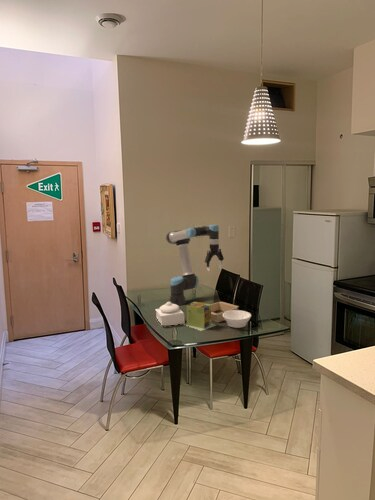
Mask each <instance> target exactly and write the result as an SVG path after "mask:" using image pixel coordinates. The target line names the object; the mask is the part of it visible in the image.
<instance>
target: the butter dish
mask: <svg viewBox="0 0 375 500" xmlns="http://www.w3.org/2000/svg"><path fill="white" fill-rule="evenodd" d="M154 310H155V316H156V318H157V319H158V321H159V322H160V323H161V325H175V326H179V325H178V324H180V325H183V324H185V322H186V321H185V313H184V312H183V311H182V310H181V309H180V305H176V304H172V303H171V302H169V301H166V303H165V304H162V305H160V306H159V308H155V309H154ZM157 319H156V320H157ZM158 321H157V322H158ZM161 325H160V326H161Z"/></svg>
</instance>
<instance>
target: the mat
mask: <svg viewBox="0 0 375 500" xmlns="http://www.w3.org/2000/svg"><path fill="white" fill-rule="evenodd" d="M182 325H183V326H185V325H186V327H188V326H189V327H188V328H191V329H193V328H194V330H196V329H197V331H199V332H203V331H206V330H208V329H210V328H213V327H216V326H217V324H215V323H212V322H211V325H209V326H208V327H206V328H199V327H194V326H190V325H187V322H186V323H185V324H182Z"/></svg>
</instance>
